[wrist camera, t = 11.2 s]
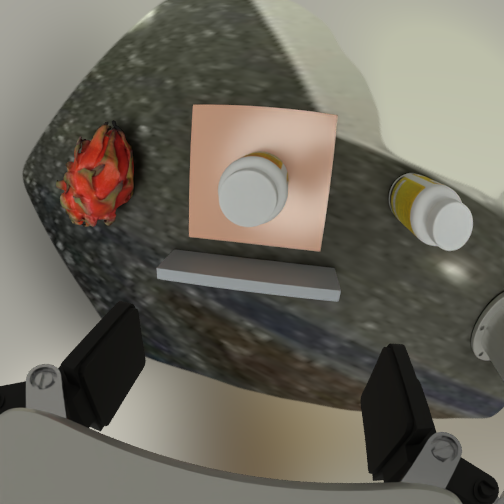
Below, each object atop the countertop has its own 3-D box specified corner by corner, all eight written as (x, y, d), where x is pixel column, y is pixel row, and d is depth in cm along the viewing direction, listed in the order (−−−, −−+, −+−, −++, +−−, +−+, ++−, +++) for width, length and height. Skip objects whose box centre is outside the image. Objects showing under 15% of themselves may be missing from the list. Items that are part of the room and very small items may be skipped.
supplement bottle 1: (224, 166, 29) (193, 182, 20) (273, 141, 28) (264, 145, 19) (249, 213, 31) (231, 249, 22) (297, 191, 29) (300, 218, 20)
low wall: (334, 268, 32) (340, 290, 28) (332, 277, 33) (338, 301, 28) (173, 249, 34) (156, 268, 29) (174, 258, 34) (157, 278, 30)
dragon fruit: (103, 215, 35) (138, 126, 32) (129, 249, 31) (173, 144, 28) (43, 207, 28) (77, 106, 25) (57, 244, 24) (98, 117, 21)
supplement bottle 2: (392, 228, 30) (428, 267, 21) (382, 179, 28) (419, 201, 19) (435, 215, 28) (481, 249, 19) (427, 167, 27) (476, 185, 18)
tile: (336, 115, 26) (337, 115, 26) (319, 249, 32) (320, 251, 31) (194, 105, 27) (193, 104, 27) (190, 235, 33) (189, 236, 32)
